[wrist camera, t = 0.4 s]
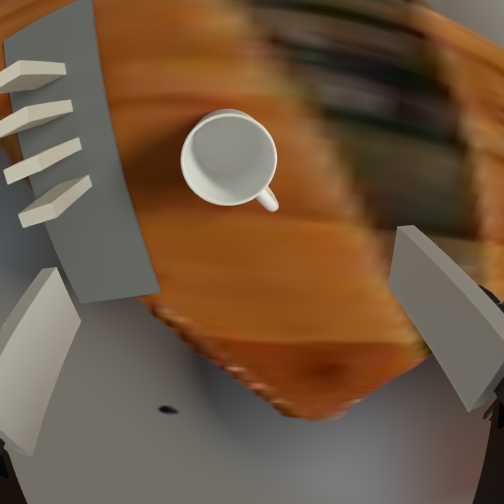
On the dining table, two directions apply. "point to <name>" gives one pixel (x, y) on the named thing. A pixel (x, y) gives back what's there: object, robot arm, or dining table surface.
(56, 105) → the domino
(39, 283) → the robot arm
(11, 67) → the domino
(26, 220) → the domino
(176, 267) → the dining table surface
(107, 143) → the slate mat
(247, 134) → the cup
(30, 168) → the domino
